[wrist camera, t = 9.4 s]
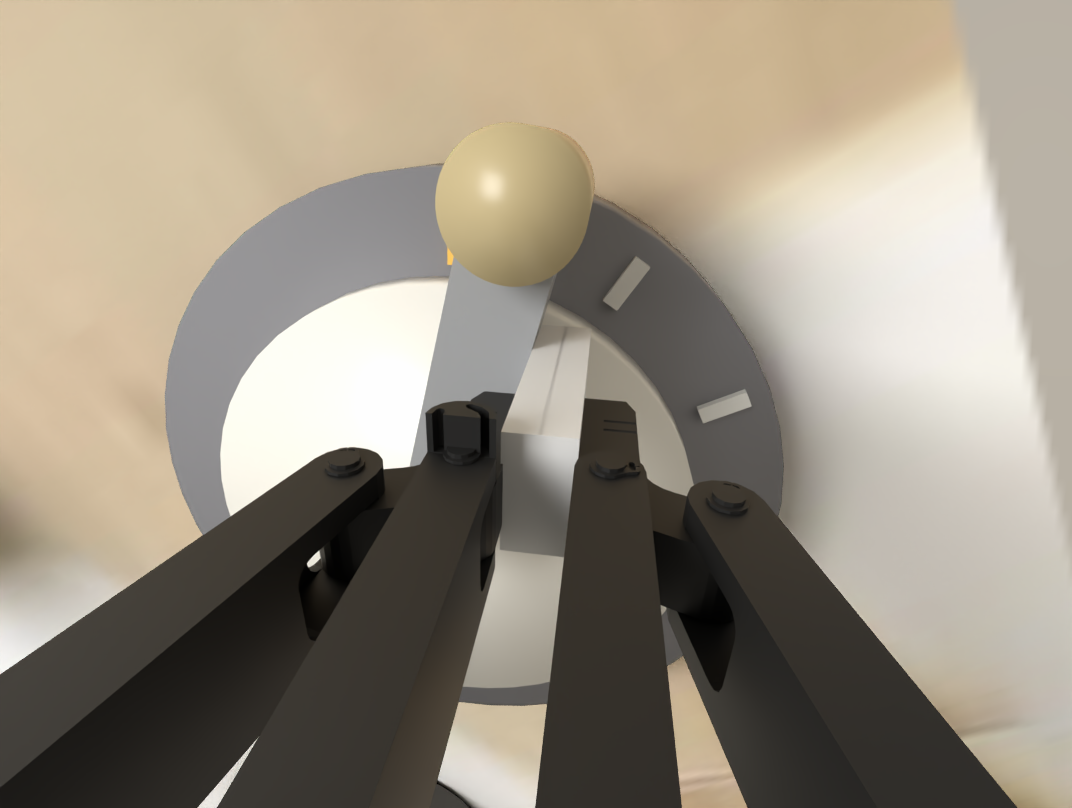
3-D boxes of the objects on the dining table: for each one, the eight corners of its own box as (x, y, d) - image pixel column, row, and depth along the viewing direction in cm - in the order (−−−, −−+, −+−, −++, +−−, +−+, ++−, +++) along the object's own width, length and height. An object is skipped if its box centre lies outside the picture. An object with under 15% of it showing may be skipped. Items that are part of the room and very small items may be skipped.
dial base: (699, 687, 31) (709, 745, 28) (254, 623, 33) (220, 670, 30) (843, 193, 20) (884, 202, 17) (153, 137, 22) (82, 137, 19)
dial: (601, 703, 28) (600, 870, 22) (235, 595, 28) (123, 732, 21) (852, 222, 17) (995, 271, 11) (260, 36, 17) (53, -26, 11)
